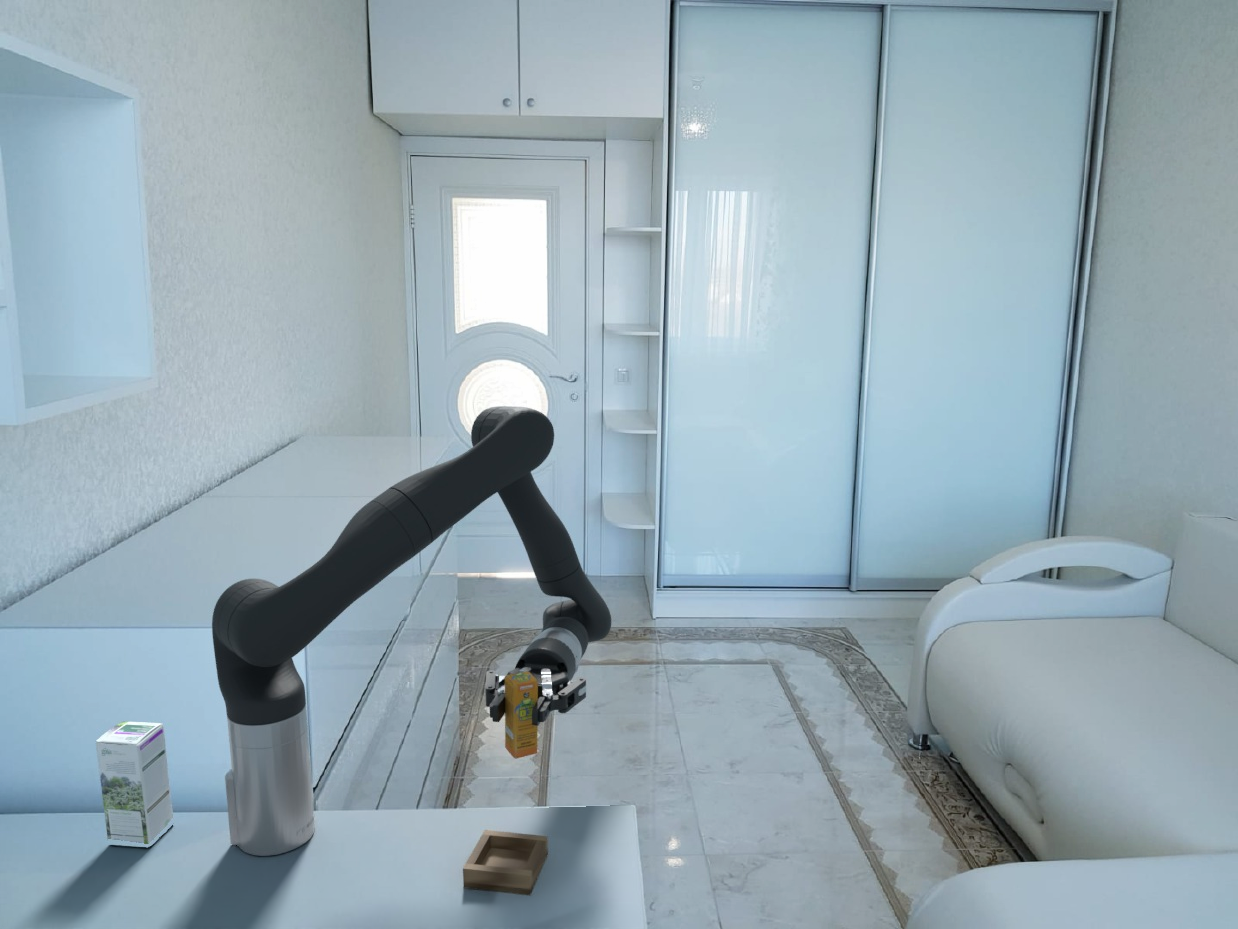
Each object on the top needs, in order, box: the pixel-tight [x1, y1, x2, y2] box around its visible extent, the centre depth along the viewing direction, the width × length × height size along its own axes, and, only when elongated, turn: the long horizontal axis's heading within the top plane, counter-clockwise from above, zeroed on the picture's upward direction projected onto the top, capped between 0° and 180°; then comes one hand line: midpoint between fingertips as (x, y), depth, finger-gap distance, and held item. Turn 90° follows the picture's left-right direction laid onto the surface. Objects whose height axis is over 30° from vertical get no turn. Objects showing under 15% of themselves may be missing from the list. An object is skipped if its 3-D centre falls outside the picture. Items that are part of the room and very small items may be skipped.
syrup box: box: [95, 721, 174, 844], centre depth 119 cm, size 6×6×14 cm
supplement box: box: [504, 671, 538, 759], centre depth 117 cm, size 3×3×10 cm
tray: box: [462, 829, 549, 896], centre depth 112 cm, size 8×8×2 cm
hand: (515, 716), depth 114 cm, fingers closed on supplement box, 4 cm apart
